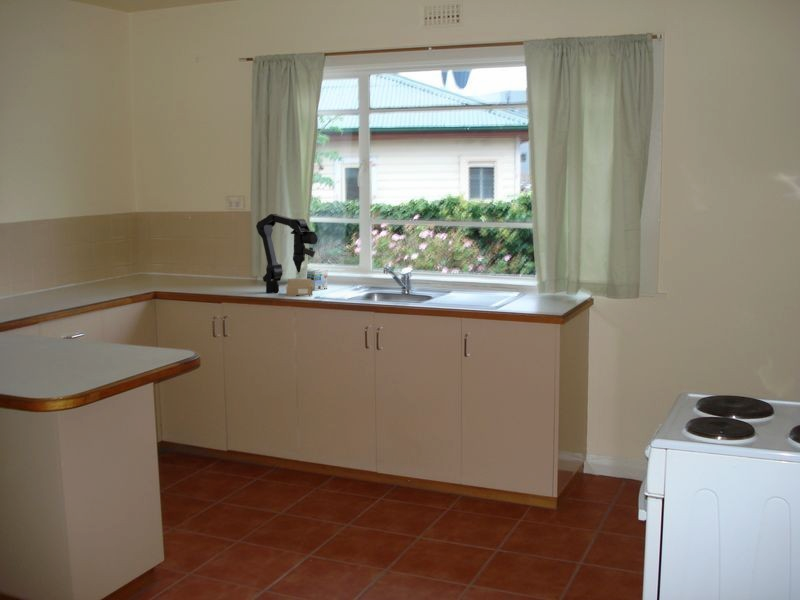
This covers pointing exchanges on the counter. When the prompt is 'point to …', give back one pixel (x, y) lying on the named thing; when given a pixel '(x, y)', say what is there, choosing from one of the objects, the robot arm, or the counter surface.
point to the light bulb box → (317, 278)
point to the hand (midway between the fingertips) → (298, 272)
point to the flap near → (299, 282)
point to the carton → (299, 290)
